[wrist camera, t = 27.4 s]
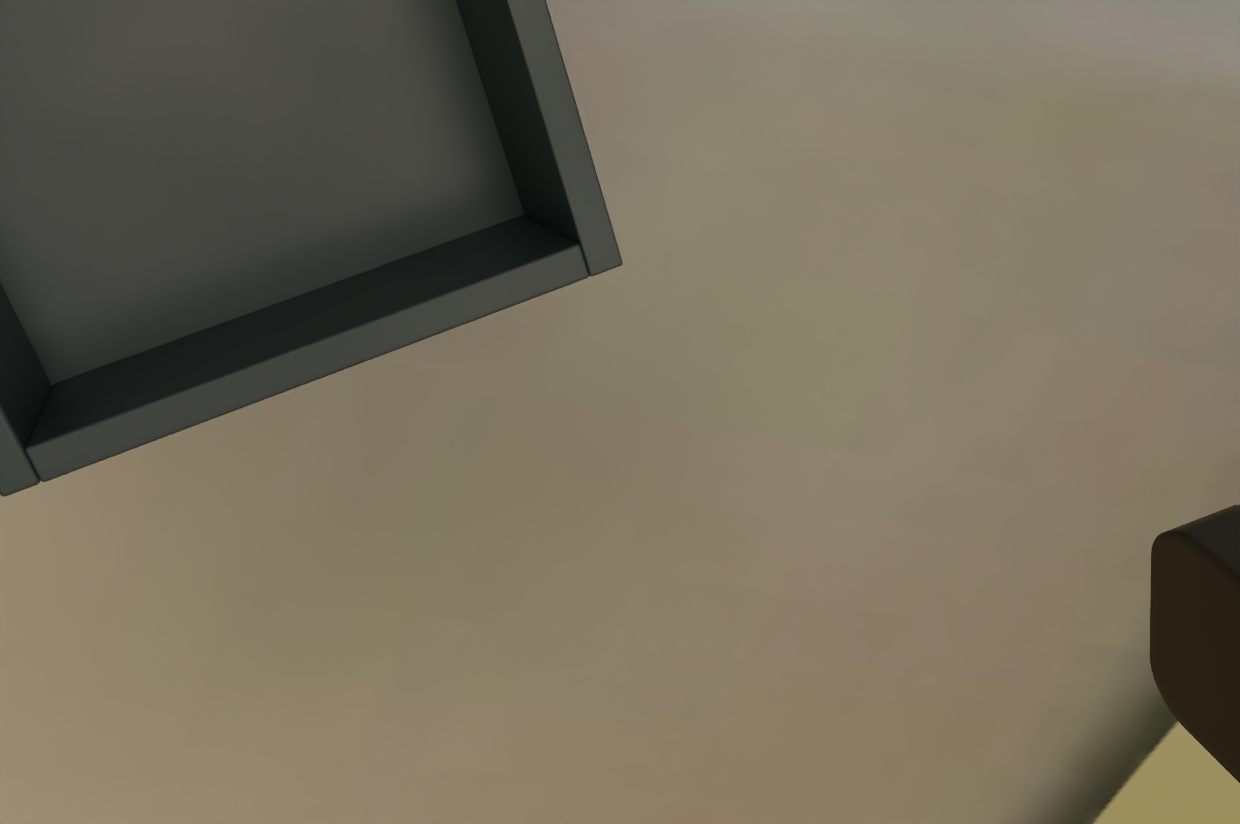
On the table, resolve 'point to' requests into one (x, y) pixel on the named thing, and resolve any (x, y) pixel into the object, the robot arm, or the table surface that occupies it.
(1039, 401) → the table surface
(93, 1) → the crate
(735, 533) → the table surface
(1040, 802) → the table surface
